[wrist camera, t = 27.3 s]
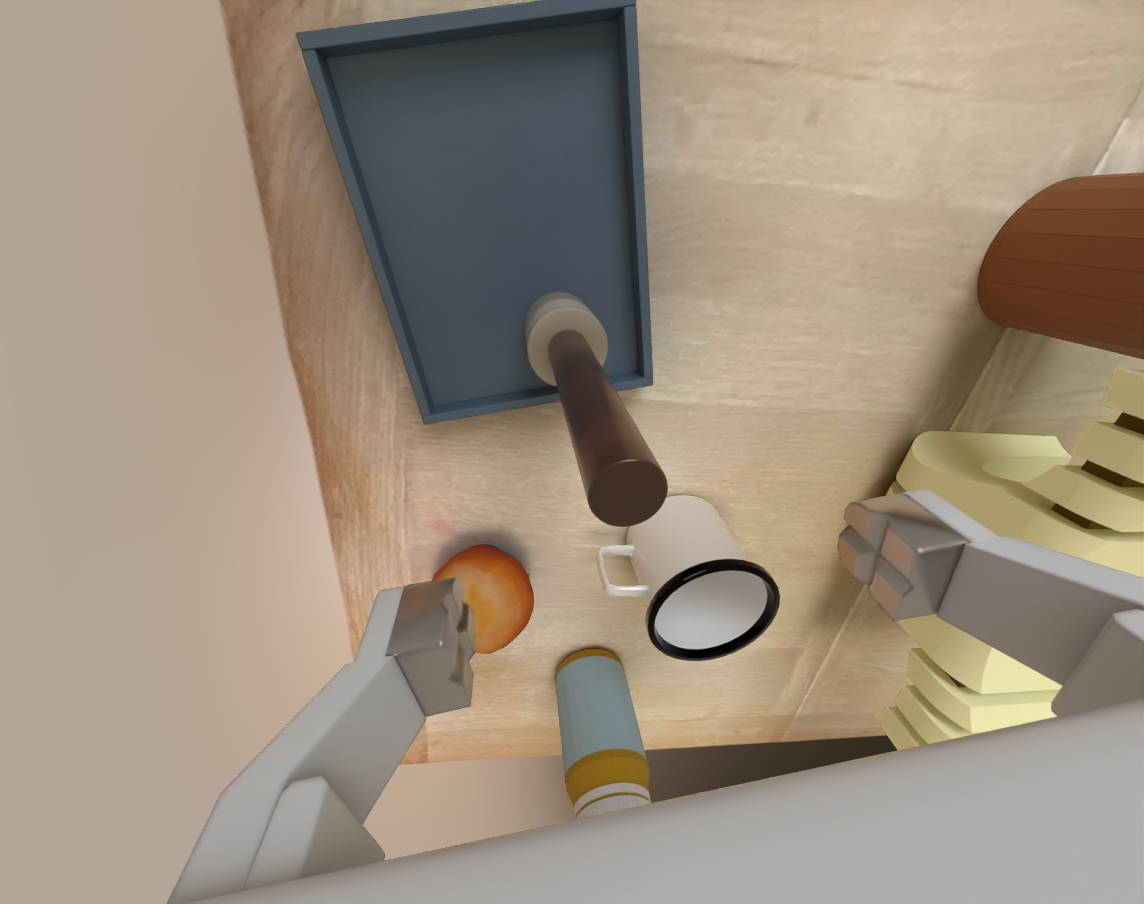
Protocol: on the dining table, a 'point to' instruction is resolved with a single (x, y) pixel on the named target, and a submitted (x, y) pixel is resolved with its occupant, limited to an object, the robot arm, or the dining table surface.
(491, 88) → the tray
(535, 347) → the bottle brush
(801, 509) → the dining table surface
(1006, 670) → the slatted curved stool
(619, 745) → the bottle
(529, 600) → the fruit
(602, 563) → the mug
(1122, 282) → the terracotta utensil crock
